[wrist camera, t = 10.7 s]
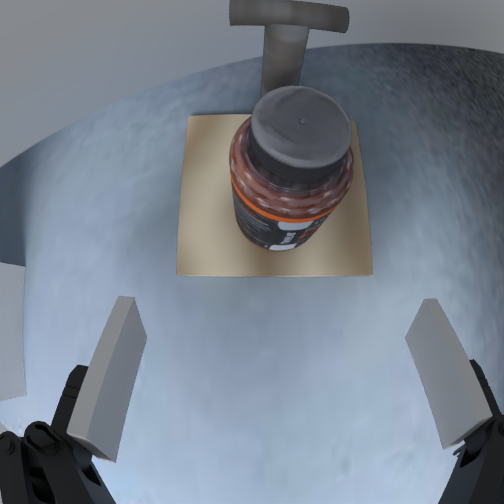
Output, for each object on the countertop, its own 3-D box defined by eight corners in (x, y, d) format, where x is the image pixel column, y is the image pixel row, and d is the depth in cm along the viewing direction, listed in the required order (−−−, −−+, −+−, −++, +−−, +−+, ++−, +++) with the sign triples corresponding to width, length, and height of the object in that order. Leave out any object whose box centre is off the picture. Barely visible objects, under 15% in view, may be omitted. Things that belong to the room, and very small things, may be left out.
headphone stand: (351, 125, 24) (408, 15, 11) (367, 275, 22) (484, 238, 9) (190, 120, 24) (156, -2, 11) (179, 276, 22) (93, 234, 9)
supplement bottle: (301, 266, 21) (356, 222, 10) (221, 234, 21) (194, 160, 10) (328, 192, 22) (387, 100, 11) (253, 163, 22) (257, 53, 11)
